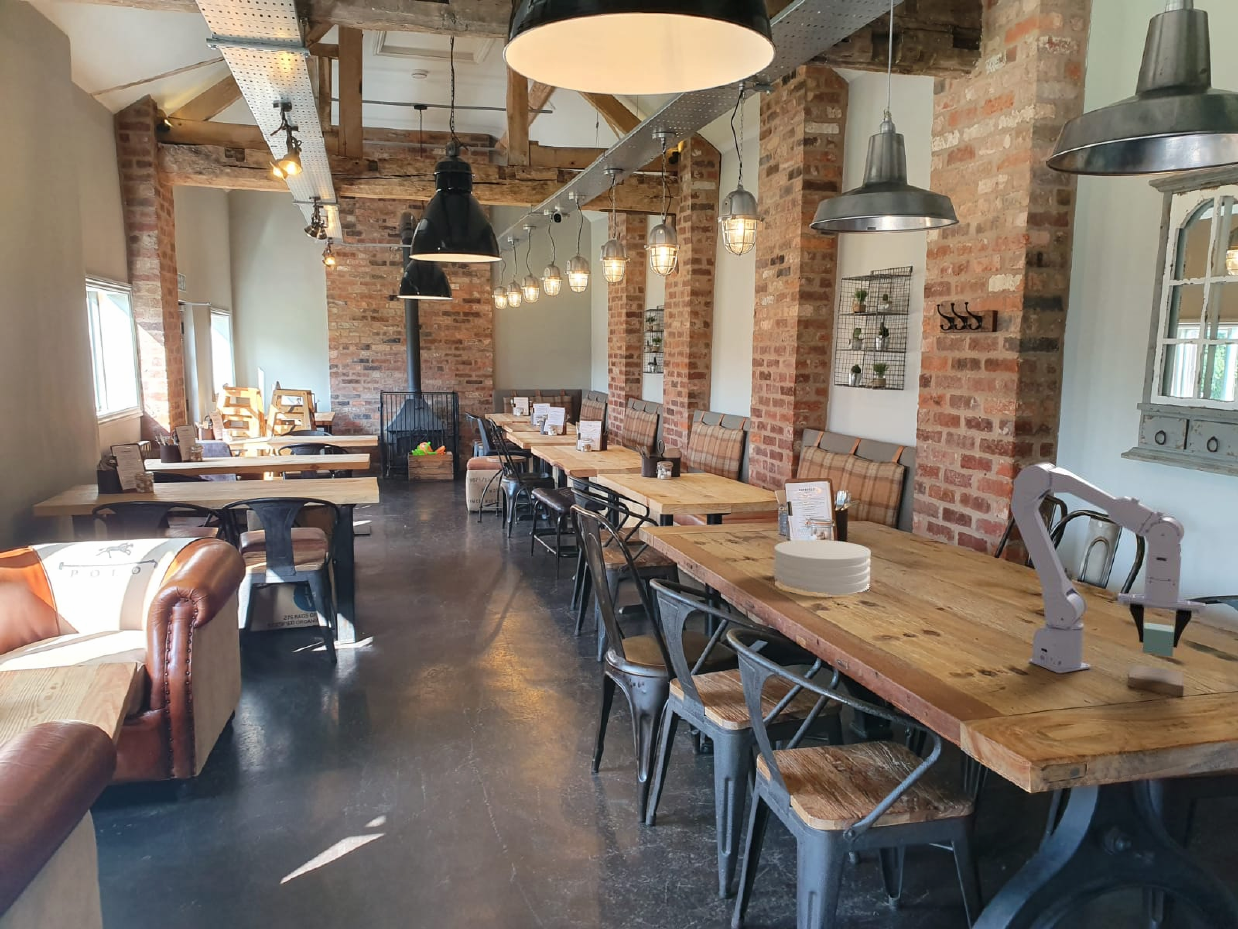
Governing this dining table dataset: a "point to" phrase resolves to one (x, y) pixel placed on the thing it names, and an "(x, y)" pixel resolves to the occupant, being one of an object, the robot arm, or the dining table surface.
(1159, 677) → the walnut base
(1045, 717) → the dining table surface
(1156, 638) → the teal cube
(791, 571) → the plate stack
